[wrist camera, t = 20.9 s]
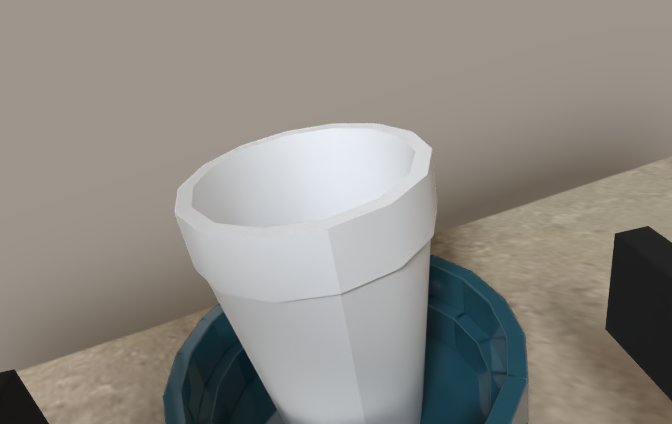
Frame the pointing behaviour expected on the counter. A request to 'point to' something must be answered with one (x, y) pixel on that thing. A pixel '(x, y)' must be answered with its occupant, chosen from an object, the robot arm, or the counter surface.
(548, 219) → the counter surface
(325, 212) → the foam cup
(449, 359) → the bowl
